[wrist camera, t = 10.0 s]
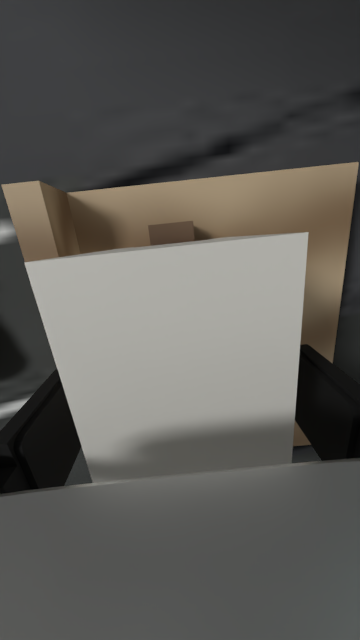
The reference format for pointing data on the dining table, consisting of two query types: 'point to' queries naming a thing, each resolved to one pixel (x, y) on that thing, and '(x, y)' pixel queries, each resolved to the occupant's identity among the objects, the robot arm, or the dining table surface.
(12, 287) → the dining table surface
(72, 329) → the light grey block
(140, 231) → the cleat board
